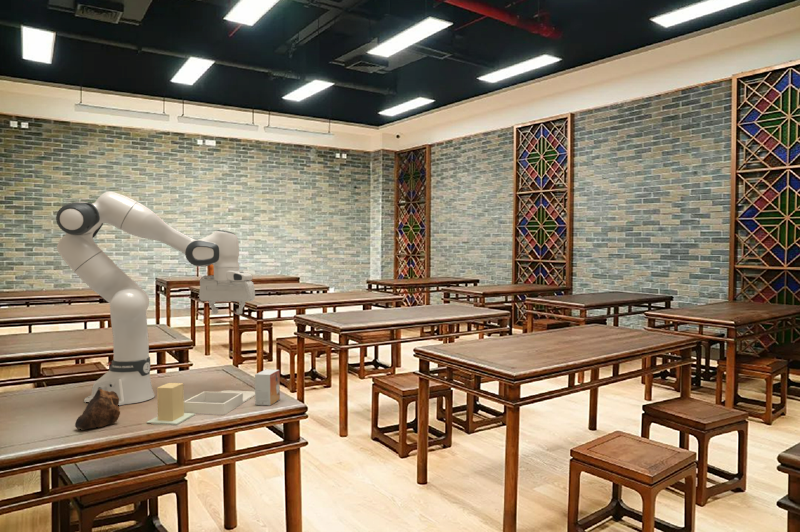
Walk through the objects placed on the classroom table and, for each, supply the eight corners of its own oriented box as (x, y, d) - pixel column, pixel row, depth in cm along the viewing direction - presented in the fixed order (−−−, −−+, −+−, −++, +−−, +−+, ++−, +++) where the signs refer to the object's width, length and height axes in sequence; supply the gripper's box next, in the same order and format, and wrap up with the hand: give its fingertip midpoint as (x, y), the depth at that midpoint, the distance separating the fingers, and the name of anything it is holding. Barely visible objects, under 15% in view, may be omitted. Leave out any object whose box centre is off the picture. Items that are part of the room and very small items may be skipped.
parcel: (157, 420, 165) (157, 387, 164) (169, 414, 171) (168, 382, 170) (172, 421, 164) (172, 388, 164) (184, 415, 170) (183, 383, 170)
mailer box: (182, 412, 174) (182, 402, 174) (222, 391, 200) (222, 382, 200) (224, 414, 171) (223, 403, 171) (259, 392, 197) (259, 383, 197)
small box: (270, 406, 181) (269, 374, 181) (254, 405, 182) (254, 374, 182) (280, 399, 189) (280, 369, 188) (265, 398, 190) (265, 368, 190)
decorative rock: (116, 419, 168) (115, 384, 167) (124, 423, 164) (123, 388, 163) (73, 429, 159) (72, 392, 158) (80, 434, 155) (79, 396, 154)
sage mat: (146, 423, 163) (146, 421, 163) (166, 413, 173) (166, 412, 173) (176, 425, 162) (176, 423, 162) (195, 415, 171) (195, 413, 171)
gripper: (195, 275, 195) (196, 314, 195) (248, 275, 191) (249, 315, 192) (204, 274, 201) (205, 312, 201) (256, 275, 197) (257, 313, 198)
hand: (227, 313), depth 196 cm, fingers open, 8 cm apart
